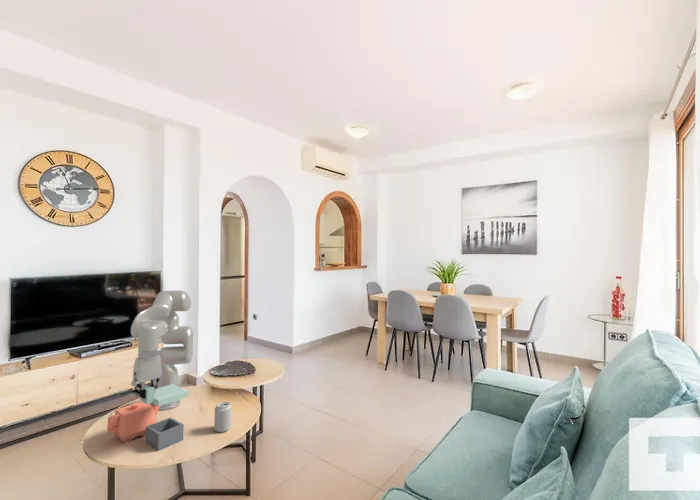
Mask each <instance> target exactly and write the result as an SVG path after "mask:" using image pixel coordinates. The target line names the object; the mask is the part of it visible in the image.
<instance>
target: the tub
mask: <svg viewBox="0 0 700 500" xmlns="http://www.w3.org/2000/svg"><path fill="white" fill-rule="evenodd" d="M184 426H185V425H184V423H182V422H180V421H178V420H176V419H174V418H173V417H171V416H170V417H167V418H165V419H162V420H160V421H157V422H155V423H154V424H151V425H149V426H146V436H145V443H146V444H147V445H148V446H150V447H152V448H153V449H155V450H156V451H157V452H159V451H162V450H163V449H166V448H168V447H171V446H173V445H175V444H177V443H180V442H182V441H184Z"/></svg>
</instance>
